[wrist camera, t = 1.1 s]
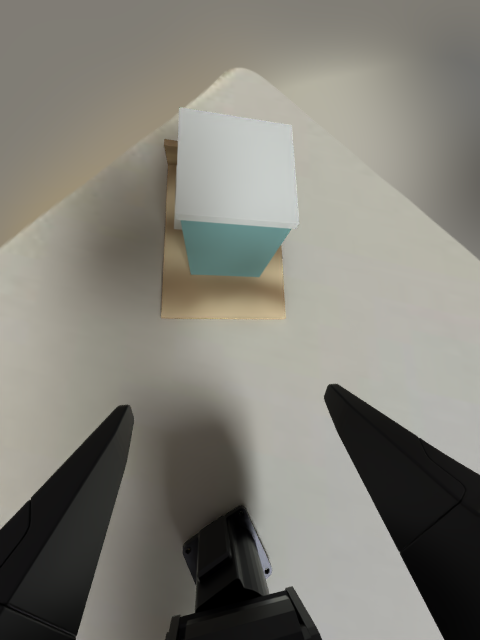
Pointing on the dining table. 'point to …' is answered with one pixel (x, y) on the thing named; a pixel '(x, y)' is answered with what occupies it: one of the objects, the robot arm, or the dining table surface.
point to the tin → (234, 191)
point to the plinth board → (211, 290)
